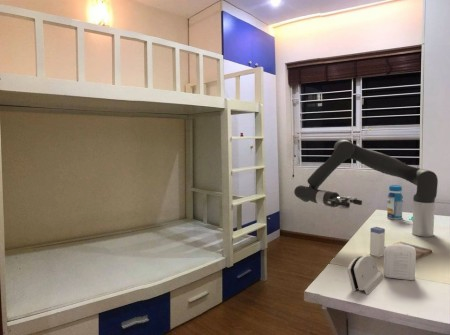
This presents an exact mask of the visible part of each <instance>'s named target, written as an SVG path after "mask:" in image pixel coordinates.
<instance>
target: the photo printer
mask: <svg viewBox="0 0 450 335" xmlns="http://www.w3.org/2000/svg"><path fill="white" fill-rule="evenodd" d="M384 247H385V249H384V255H383V270H382V271H383V272H382V274H383V277H385V278H391V279H399V280H408V281H415V279H416V265H417V264H416V263H417V262H416V260H417V259H416V251H415V248H414V247H412V246H409V245H405V244H394V243H389V244H386V245H384Z"/></svg>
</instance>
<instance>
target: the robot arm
mask: <svg viewBox="0 0 450 335" xmlns="http://www.w3.org/2000/svg"><path fill="white" fill-rule="evenodd" d="M333 150H334V151H333V152H332V154H331V155H330V156H329V158H328V159H327V160H326V161H325V162H324V163H322V164H321V165H320V166H318V167H317V168H316V169H315V170H314V171H313V172H312V174H311V175H310V176H309V177H308V178H307V181H306V182H307V184H308V185H307V186H306V185H304V184H301V185H300V184H299V185H297V186H296V187H295V189H294V191H293V193H294V195H295V197H296V198H298V199H299V200H301V201H302V202H305V203H308V202H311V203H314V204H319V205H322V206H325V207H330V208H337V207H338V208H339V207H345V208H350V207H351V206H350V205H351V204H352V205H358V206H362V205H363V200H361V199H357V197H353V196H344V195H343V196H341V195H340V194H339V193H338V192H336V191H332V190H324V189H323V190H322V189H319V188H320V186H321V185H323V183H324V182H325V181H326V180H327V179H328V177H330V175H331V174H332V173H334V171H335V170H336V169H337V168H338V167H339V166H341V165H342V164H343V163H344V162H345V161H346V160H348V159H350V160H354V161H356V162H359V163H360V164H363V165H364V166H365V167H368V168H370V169H372V170H374V171H377V172H379V173H382V174H385V175H388V176H392V177H396V178H400V179H403V180H405V181H407V182H409V183H411V184H413V185H414V186H416V193H415V194H414V195H413V198H412V199H413V200H412V201H413V202H412V203H413V204H412V205H413V206H412V216H413V220H412V226H411V228H412V230H411V233H412V234H413V236H418V237H425V238H428V237H429V238H430V237H433V236H434V232H435V231H434V229H435V226H434V225H435V201H436V198H437V194H438V185H439V184H438V183H439V182H438V176H437V174H436V172H434V171H432V170H428V169H424V168H419V167H415V166H411V165H408V164H406V163H404V162H402V161H401V160H399V159H398V158H395V157H392V156H391V155H389V154H388V155H387V154H385V153H382V152H378V151H375V150H372V149H367V148H364V147H362V146H359V145H356V144H355V143H352V142H351V141H350V140H348V139H339V140H337V141H336V142H335V143H334V146H333Z"/></svg>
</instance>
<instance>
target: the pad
mask: <svg viewBox="0 0 450 335" xmlns="http://www.w3.org/2000/svg"><path fill="white" fill-rule="evenodd" d="M393 244H405V245H409V246H412V247H414V248H415V251H416V260H417V259H420V258H423V257H425V256H428V255H430V254H432V253H433V249H430V248H426V247H422V246H419V245H415V244H412V243H407V242H403V241H398V242H395V243H393ZM384 249H385V246H384Z"/></svg>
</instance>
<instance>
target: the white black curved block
mask: <svg viewBox="0 0 450 335" xmlns="http://www.w3.org/2000/svg"><path fill="white" fill-rule="evenodd" d="M347 275H348V278H349V282H350V287H351V290H352V291H357V290H359V291H364V292H365V295H366V296H367V295H369V294H370V293H371V292H372V291H373V290H374V289H375V288H376V287H377V286H378V285H379V284H380V283H381V282H383V280H384V277H385V276H384V275H383V272H381V271H379V268H378V266H377V264H376V262H375V258H374V257H373V255H361V256H358V257H355V258H354V259H352V260H351V262H350V263H349V265H348V267H347Z"/></svg>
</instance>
